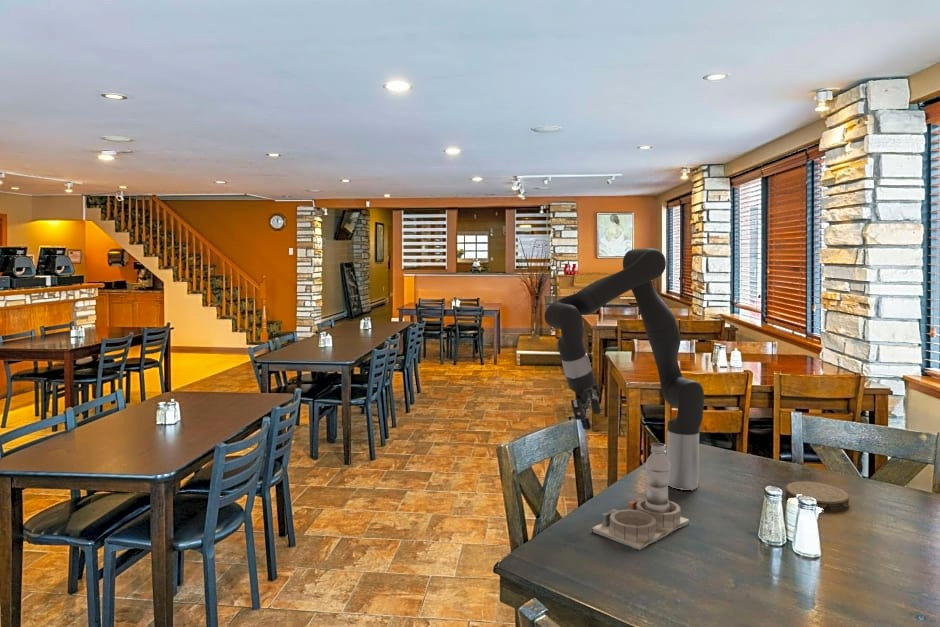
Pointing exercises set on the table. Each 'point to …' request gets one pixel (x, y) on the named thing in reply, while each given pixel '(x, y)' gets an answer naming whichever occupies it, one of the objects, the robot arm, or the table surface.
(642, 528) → the bottle stand
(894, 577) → the table surface
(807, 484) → the brown round disc
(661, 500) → the plastic bottle
